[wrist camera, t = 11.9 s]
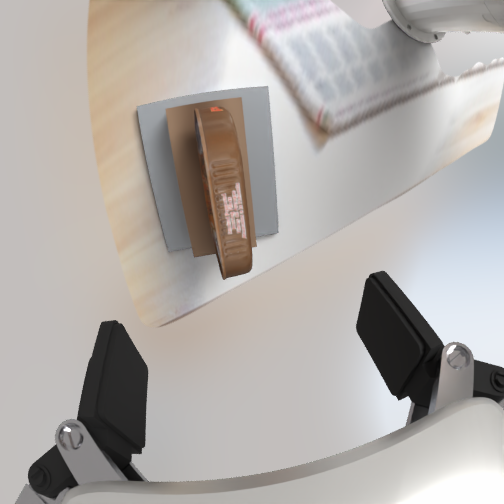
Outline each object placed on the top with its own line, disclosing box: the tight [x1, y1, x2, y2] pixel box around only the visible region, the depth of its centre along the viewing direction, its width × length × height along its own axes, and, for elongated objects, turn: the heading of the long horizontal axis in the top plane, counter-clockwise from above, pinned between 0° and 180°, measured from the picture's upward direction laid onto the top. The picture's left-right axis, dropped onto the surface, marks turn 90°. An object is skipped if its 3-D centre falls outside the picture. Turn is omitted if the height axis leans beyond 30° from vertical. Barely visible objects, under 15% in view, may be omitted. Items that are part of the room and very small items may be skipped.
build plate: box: [137, 86, 278, 252], centre depth 30 cm, size 14×18×1 cm
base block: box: [165, 97, 257, 257], centre depth 28 cm, size 7×16×4 cm, turn 5°
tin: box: [194, 106, 252, 280], centre depth 23 cm, size 15×3×8 cm, turn 5°
